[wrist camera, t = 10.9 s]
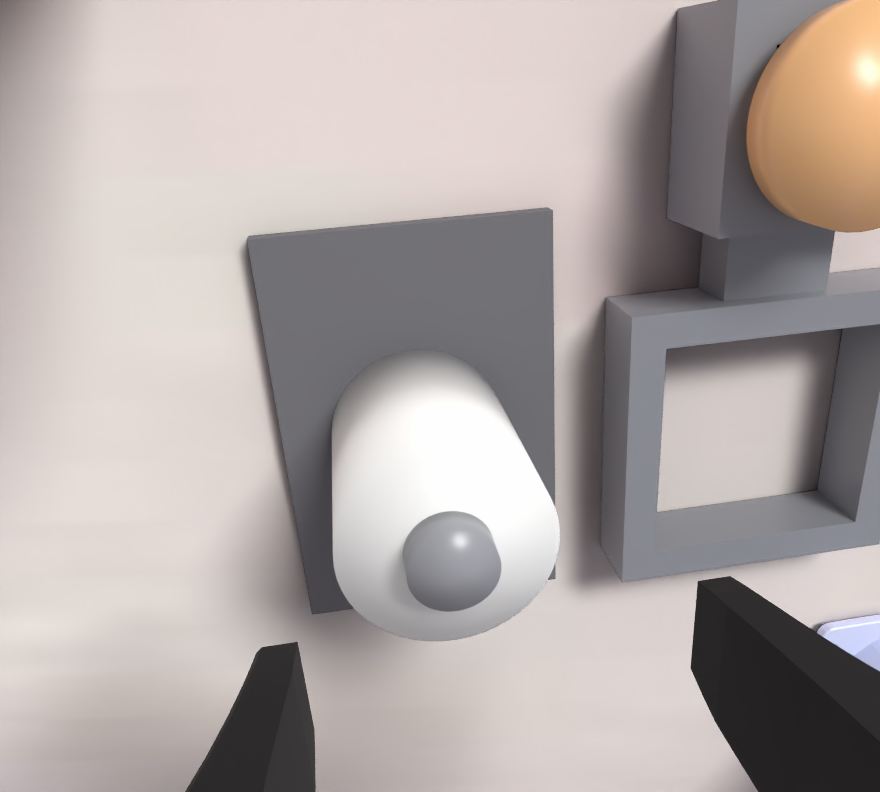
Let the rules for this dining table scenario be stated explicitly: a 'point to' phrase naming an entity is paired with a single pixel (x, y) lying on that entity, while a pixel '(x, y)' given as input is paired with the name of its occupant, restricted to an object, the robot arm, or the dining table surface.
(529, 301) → the mat
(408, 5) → the dining table surface
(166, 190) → the dining table surface
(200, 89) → the dining table surface
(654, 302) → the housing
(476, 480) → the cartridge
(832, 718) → the robot arm
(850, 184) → the plunger
